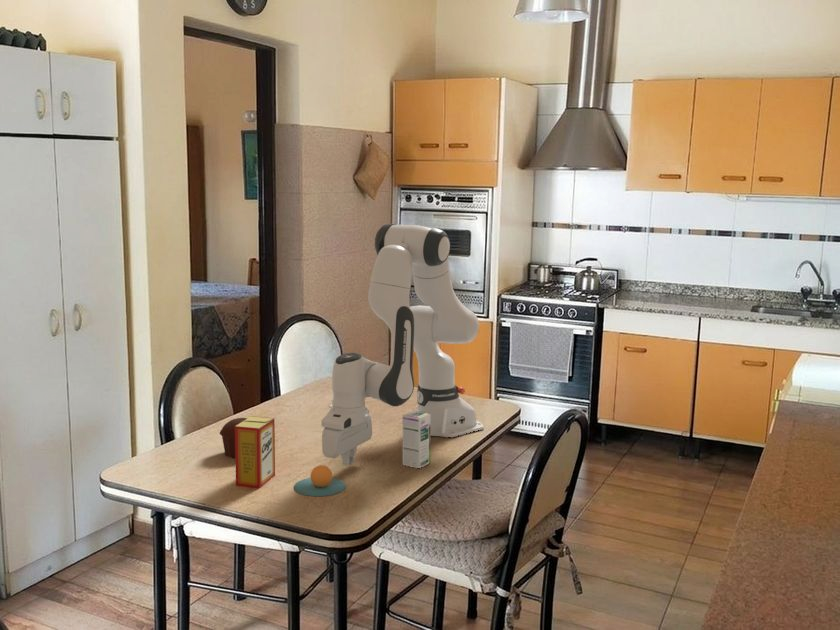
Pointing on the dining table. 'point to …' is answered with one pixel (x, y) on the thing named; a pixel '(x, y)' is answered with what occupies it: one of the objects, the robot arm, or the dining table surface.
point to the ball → (321, 476)
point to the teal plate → (319, 488)
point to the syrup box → (416, 439)
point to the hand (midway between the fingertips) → (348, 464)
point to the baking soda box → (255, 451)
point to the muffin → (230, 436)
